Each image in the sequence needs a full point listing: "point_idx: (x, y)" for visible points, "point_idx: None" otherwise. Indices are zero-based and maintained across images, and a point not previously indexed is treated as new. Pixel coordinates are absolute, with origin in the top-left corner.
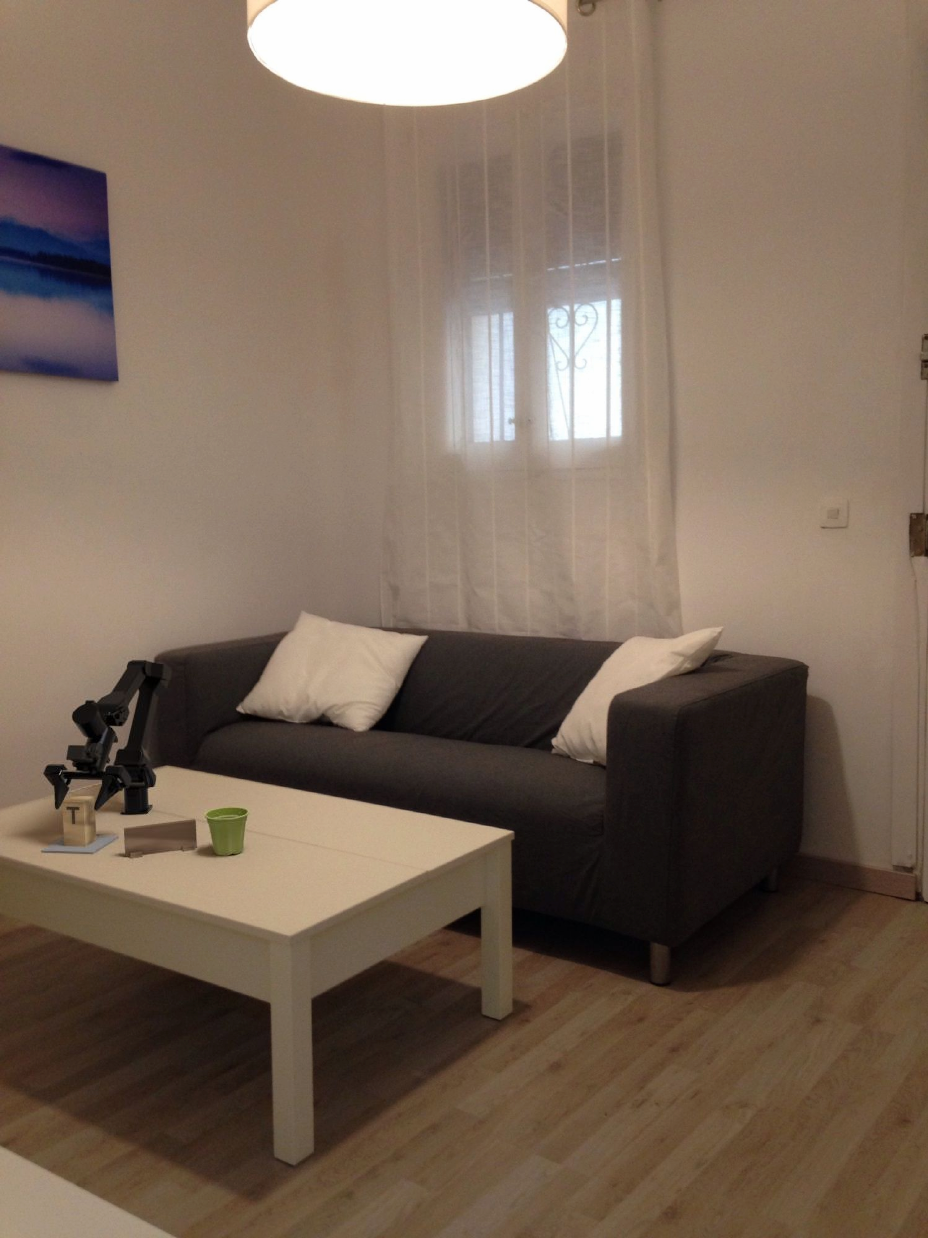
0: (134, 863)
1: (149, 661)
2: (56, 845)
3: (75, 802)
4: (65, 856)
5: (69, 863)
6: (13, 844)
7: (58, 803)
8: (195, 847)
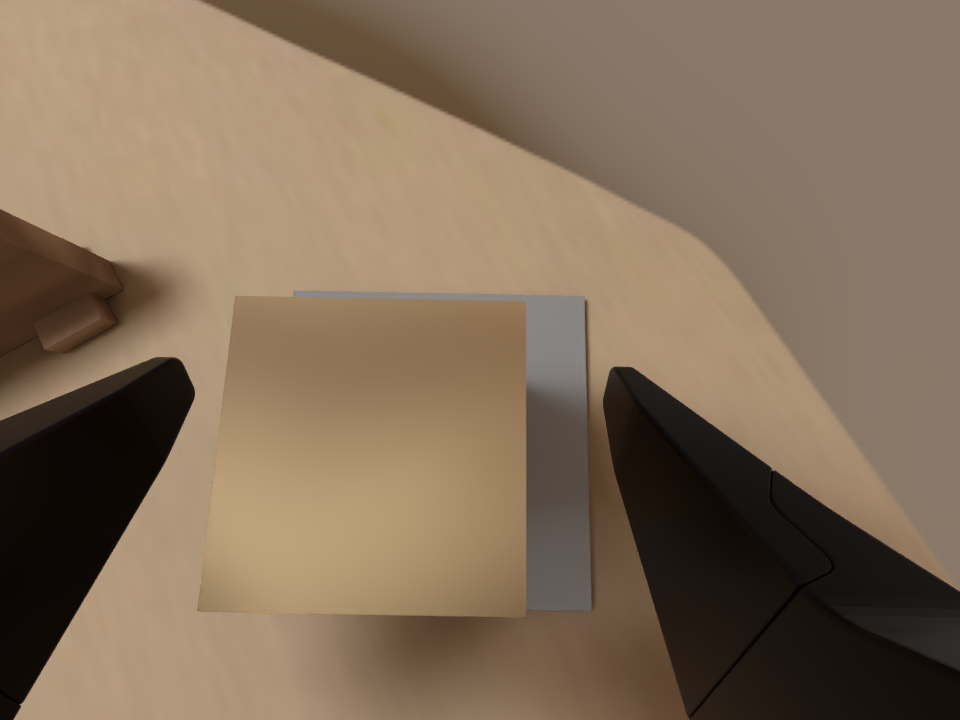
0: (41, 181)
1: None
2: (549, 384)
3: (345, 300)
4: (425, 251)
5: (355, 157)
6: (820, 420)
7: (622, 410)
8: None
